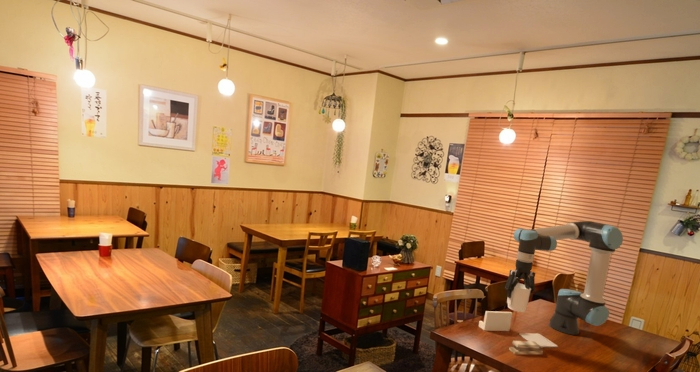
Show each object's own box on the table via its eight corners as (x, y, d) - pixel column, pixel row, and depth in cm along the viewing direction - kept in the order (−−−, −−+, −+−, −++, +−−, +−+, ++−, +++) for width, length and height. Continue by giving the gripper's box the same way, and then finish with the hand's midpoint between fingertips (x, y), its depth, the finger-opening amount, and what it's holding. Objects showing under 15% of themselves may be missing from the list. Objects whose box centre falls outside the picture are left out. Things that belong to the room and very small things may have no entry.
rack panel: (503, 326, 203) (506, 309, 203) (509, 330, 199) (512, 313, 198) (478, 326, 199) (481, 308, 198) (484, 330, 194) (487, 312, 194)
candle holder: (529, 314, 180) (533, 291, 179) (508, 310, 182) (512, 287, 181) (524, 307, 190) (528, 284, 189) (504, 303, 191) (508, 281, 191)
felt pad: (538, 334, 200) (538, 333, 200) (557, 347, 187) (558, 346, 187) (518, 334, 196) (518, 333, 196) (537, 347, 183) (537, 346, 183)
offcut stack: (535, 349, 181) (537, 340, 180) (542, 354, 176) (544, 345, 176) (508, 349, 176) (510, 340, 176) (515, 354, 172) (516, 345, 171)
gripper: (511, 261, 177) (504, 306, 179) (547, 264, 183) (540, 307, 185) (501, 257, 184) (494, 300, 186) (536, 259, 191) (529, 301, 192)
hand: (517, 304), depth 185 cm, fingers closed on candle holder, 9 cm apart
